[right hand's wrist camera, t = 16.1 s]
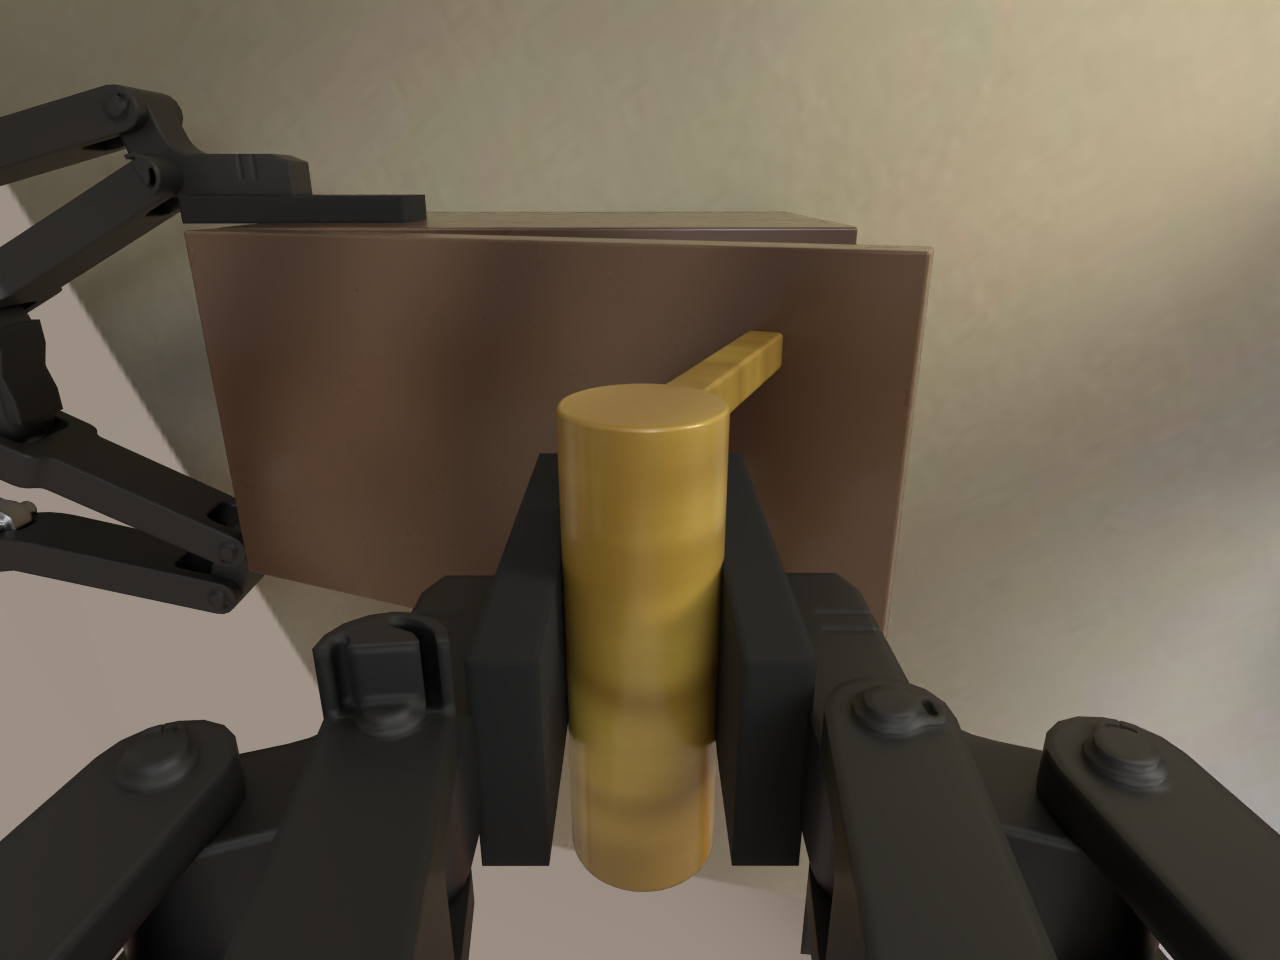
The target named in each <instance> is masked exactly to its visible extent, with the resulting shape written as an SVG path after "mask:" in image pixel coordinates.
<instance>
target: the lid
mask: <svg viewBox="0 0 1280 960" xmlns="http://www.w3.org/2000/svg"><path fill="white" fill-rule="evenodd" d="M184 235H185V240H186V245H187V250H188V256H189V261H190V266H191V271H192V276H193V282H194V287H195V292H196V297H197V302H198V308H199V313H200V318H201V323H202V328H203V333H204V339H205V344H206V349H207V354H208V359H209V365H210V370H211V375H212V380H213V385H214V391H215V396H216V401H217V406H218V411H219V417H220V422H221V427H222V432H223V437H224V442H225V448H226V453H227V458H228V463H229V468H230V474H231V479H232V484H233V489H234V494H235V500H236V505H237V510H238V515H239V520H240V526H241V531H242V536H243V541H244V546H245V551H246V557H247V562H248V567H249V570H250V571H252V572H256V573H261V574H265V575H269V576H274V577H278V578H283V579H287V580H292V581H296V582H300V583H305V584H309V585H314V586H318V587H323V588H327V589H331V590H336V591H340V592H345V593H349V594H354V595H358V596H363V597H367V598H371V599H376V600H380V601H385V602H389V603H394V604H398V605H402V606H407V607H411V608H414V606H415V604H416V603H417V601H418V599H419V597H420V595H421V593H422V592H423V591H425V590H426V589H427V588H429V587H430V586H432V585H433V584H434V583H436V582H437V581H438V580H440V579H441V578H442V577H444V576H445V575H495V573H496V570H497V568H498V565H499V562H500V560H501V557H502V554H503V551H504V549H505V546H506V543H507V541H508V538H509V535H510V532H511V530H512V527H513V524H514V521H515V519H516V516H517V513H518V511H519V508H520V505H521V502H522V500H523V497H524V494H525V491H526V489H527V486H528V483H529V481H530V478H531V475H532V472H533V470H534V467H535V464H536V462H537V459H538V456H539V453H558V475H559V500H560V526H561V551H562V576H563V601H564V627H565V652H566V677H567V702H568V728H569V753H570V778H571V804H572V829H573V843H574V848H575V851H576V854H577V856H578V858H579V859H580V861H581V863H582V864H583V865H584V866H585V868H586V869H587V870H588V871H589V872H590V873H591V874H592V875H594V876H595V877H596V878H598V879H599V880H601V881H603V882H604V883H606V884H608V885H611V886H613V887H616V888H620V889H623V890H629V891H637V892H649V891H658V890H663V889H667V888H670V887H673V886H675V885H678V884H680V883H682V882H684V881H685V880H687V879H689V878H690V877H691V876H693V875H694V874H695V873H696V872H697V871H698V870H699V869H700V868H701V867H702V865H703V864H704V863H705V861H706V860H707V858H708V856H709V854H710V851H711V848H712V844H713V831H714V806H715V780H716V755H717V749H716V742H715V735H716V710H717V684H718V659H719V634H720V608H721V583H722V563H723V560H724V552H725V526H726V501H727V476H728V453H742V456H743V459H744V462H745V464H746V467H747V470H748V472H749V475H750V478H751V481H752V483H753V486H754V489H755V491H756V494H757V497H758V500H759V502H760V505H761V508H762V511H763V513H764V516H765V519H766V521H767V524H768V527H769V530H770V532H771V535H772V538H773V540H774V543H775V546H776V549H777V551H778V554H779V557H780V559H781V562H782V565H783V568H784V570H785V573H837V574H838V575H840V576H841V577H842V578H844V579H845V580H847V581H848V582H849V583H851V584H852V585H853V586H855V587H856V588H857V589H859V590H860V592H861V594H862V596H863V597H864V599H865V601H866V603H867V605H868V607H869V609H870V614H873V616H874V618H875V620H876V622H877V624H878V626H879V631H882V633H883V635H884V637H885V639H886V636H887V628H888V620H889V611H890V603H891V595H892V587H893V579H894V571H895V563H896V554H897V546H898V538H899V530H900V522H901V514H902V506H903V497H904V489H905V481H906V473H907V465H908V457H909V449H910V441H911V432H912V424H913V416H914V408H915V400H916V392H917V384H918V375H919V367H920V359H921V351H922V343H923V335H924V327H925V318H926V310H927V302H928V294H929V286H930V278H931V270H932V262H933V253H934V250H933V248H932V247H923V246H885V245H846V244H808V243H769V242H731V241H692V240H654V239H615V238H577V237H538V236H500V235H461V234H423V233H384V232H346V231H307V230H268V229H230V228H219V229H203V230H187V231H185V232H184Z"/></svg>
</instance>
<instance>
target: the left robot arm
mask: <svg viewBox="0 0 1280 960" xmlns="http://www.w3.org/2000/svg"><path fill="white" fill-rule="evenodd" d="M182 123H183V115H182V110H181V108H180V107H179V105H178V103H177V102H176V101H175V100H174V99H173V98H171V97H170V96H168V95H165V94H162V93H157V92H152V91H147V90H141V89H136V88H131V87H125V86H120V85H105V86H102V87H98V88H95V89H92V90H88V91H85V92H82V93H79V94H75V95H72V96H69V97H65V98H62V99H59V100H56V101H52V102H49V103H46V104H42V105H39V106H36V107H33V108H29V109H26V110H23V111H19V112H16V113H13V114H10V115H6V116H3V117H0V186H2V185H6V184H9V183H12V182H16V181H19V180H22V179H26V178H29V177H32V176H36V175H39V174H43V173H46V172H49V171H53V170H56V169H59V168H63V167H66V166H70V165H73V164H76V163H80V162H83V161H86V160H90V159H93V158H96V157H100V156H103V155H107V154H110V153H113V152H117V151H120V150H123V149H127V151H128V153H129V154H126V155H124V157H125V158H126V159H132V160H133V161H131V162H130V163H128V164H127V165H125V166H123V167H122V168H120V169H119V170H117V171H116V172H114V173H113V174H111V175H110V176H108V177H107V178H105V179H104V180H102V181H101V182H99V183H98V184H96V185H95V186H93V187H91V188H90V189H88V190H87V191H85V192H84V193H82V194H81V195H79V196H78V197H76V198H75V199H73V200H72V201H70V202H69V203H67V204H66V205H64V206H62V207H61V208H59V209H58V210H56V211H55V212H53V213H52V214H50V215H49V216H47V217H46V218H44V219H43V220H41V221H40V222H38V223H37V224H35V225H33V226H32V227H30V228H29V229H27V230H26V231H24V232H23V233H21V234H20V235H18V236H17V237H15V238H14V239H12V240H11V241H9V242H8V243H6V244H4V245H3V246H1V247H0V480H2V481H5V482H7V483H9V484H11V485H14V486H17V487H21V488H43V489H46V490H49V491H51V492H53V493H56V494H58V495H60V496H63V497H65V498H67V499H69V500H72V501H74V502H76V503H79V504H81V505H83V506H85V507H88V508H90V509H92V510H95V511H97V512H99V513H102V514H104V515H106V516H108V517H111V518H113V519H115V520H118V521H120V522H122V523H125V524H127V525H129V526H131V527H134V528H130V527H126V526H121V525H117V524H112V523H108V522H103V521H99V520H94V519H90V518H85V517H80V516H76V515H70V514H64V513H54V512H39V513H37V508H36V506H35V505H34V504H33V503H32V502H29V501H24V502H22V503H19V502H16V501H11V500H5V499H3V498H0V572H2V571H13V570H14V571H19V572H24V573H29V574H33V575H38V576H43V577H47V578H52V579H57V580H61V581H66V582H71V583H75V584H80V585H85V586H90V587H95V588H99V589H104V590H108V591H113V592H118V593H123V594H128V595H132V596H137V597H141V598H146V599H151V600H155V601H160V602H165V603H169V604H174V605H179V606H184V607H189V608H193V609H198V610H203V611H207V612H212V613H217V614H225V613H228V612H230V611H231V610H232V609H233V608H234V607H235V606H236V605H237V604H238V603H239V602H240V601H241V600H242V599H243V598H244V597H245V596H246V595H247V593H248V592H249V591H250V590H251V589H252V588H253V587H254V586H255V585H256V584H257V583H258V582H259V581H260V580H261V578H262V577H263V576H264V574H261V573H256V572H252V571H250V570H249V567H248V562H247V557H246V551H245V546H244V541H243V536H242V531H241V526H240V520H239V515H238V510H237V505H236V500H235V497H232V496H230V495H228V494H226V493H223V492H221V491H219V490H217V489H215V488H212V487H210V486H208V485H206V484H204V483H201V482H199V481H197V480H195V479H192V478H190V477H188V476H186V475H184V474H181V473H179V472H177V471H175V470H172V469H170V468H168V467H166V466H164V465H161V464H159V463H157V462H155V461H153V460H150V459H148V458H146V457H144V456H142V455H139V454H137V453H135V452H133V451H130V450H128V449H126V448H124V447H122V446H119V445H117V444H115V443H113V442H111V441H108V440H106V439H104V438H102V437H100V436H99V435H98V434H97V429H96V428H95V427H94V426H92V425H91V424H89V423H86V422H84V421H82V420H80V419H77V418H75V417H73V416H71V415H69V414H67V413H64V412H62V411H60V410H62V409H63V407H62V403H61V399H60V395H59V392H58V388H57V386H56V384H55V382H54V380H53V378H52V377H51V375H50V373H49V371H48V369H47V367H46V364H45V349H46V342H45V338H44V334H43V330H42V327H41V323H40V320H31V319H30V317H29V315H28V314H27V313H28V312H29V311H31V310H33V309H34V308H36V307H37V306H39V305H41V304H42V303H44V302H45V301H47V300H49V299H50V298H52V297H53V296H55V295H56V294H58V293H59V292H61V291H62V288H61V287H62V286H64V285H65V284H67V283H68V282H70V281H72V280H73V279H75V278H76V277H78V276H79V275H81V274H83V273H84V272H86V271H87V270H89V269H90V268H92V267H94V266H95V265H97V264H98V263H100V262H101V261H103V260H105V259H106V258H108V257H109V256H111V255H112V254H114V253H116V252H117V251H119V250H120V249H122V248H123V247H125V246H127V245H128V244H130V243H131V242H133V241H135V240H136V239H138V238H139V237H141V236H142V235H144V234H146V233H147V232H149V231H150V230H152V229H153V228H155V227H157V226H158V225H160V224H161V223H163V222H164V221H166V220H168V219H169V218H171V217H172V216H174V215H175V214H177V213H179V212H181V217H182V222H183V223H406V222H412V221H417V220H423V219H427V215H426V204H425V195H312V188H311V181H310V174H309V166H308V162H306V161H303V160H301V159H298V158H296V157H293V156H291V155H278V154H206V153H203V152H202V151H200V150H199V149H197V148H196V147H195V146H194V145H193V144H192V143H191V141H190V140H189V138H188V137H187V135H186V133H185V131H184V129H183V127H182ZM135 528H136V529H135Z"/></svg>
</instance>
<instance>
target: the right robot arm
mask: <svg viewBox="0 0 1280 960" xmlns="http://www.w3.org/2000/svg"><path fill="white" fill-rule="evenodd" d="M312 651H313V657H314V663H315V669H316V675H317V681H318V687H319V693H320V699H321V705H322V711H323V717H324V720H323V722H322V725H321V727H320V729H319V732H318V734H317V735H315V736H313V737H311V738H307V739H304V740H300V741H297V742H293V743H290V744H285V745H280V746H275V747H271V748H266V749H261V750H256V751H252V752H247V753H242V754H239V751H238V747H237V742H236V737H235V735H234V734H233V733H232V732H231V731H230V730H229V729H228V728H226V727H225V726H224V725H222V724H218V723H214V722H210V721H206V720H189V721H176V722H171V723H166V724H164V725H157V726H154V727H151V728H148V729H145V730H144V731H141V732H139V733H137V734H134V735H132V736H130V737H128V738H125V739H123V740H121V741H119V742H118V743H116V744H115V745H113V746H112V747H110V748H109V749H108V750H106V751H105V752H103V753H102V754H100V755H99V756H98V757H96V758H95V759H94V760H93V761H91V762H90V763H89V764H88V765H87V766H86V767H85V768H83V769H82V770H81V771H80V772H79V773H78V774H77V775H75V776H74V777H73V778H72V779H71V780H70V781H69V782H68V783H66V784H65V785H64V786H63V787H62V788H61V789H59V790H58V791H57V792H56V793H55V794H54V795H53V796H51V797H50V798H49V799H48V800H47V801H46V802H45V803H43V804H42V805H41V806H40V807H39V808H38V809H37V810H35V811H34V812H33V813H32V814H31V815H30V816H29V817H28V818H26V819H25V820H24V821H23V822H22V823H21V824H19V825H18V826H17V827H16V828H15V829H14V830H13V831H11V832H10V833H9V834H8V835H7V836H6V837H5V838H3V839H2V840H1V841H0V960H112V959H113V958H114V957H115V956H116V954H117V953H118V952H119V951H120V949H121V948H122V947H123V949H124V950H123V952H122V953H121V954H120V955H119V957H118V958H117V959H116V960H468V959H469V949H470V940H471V930H472V920H473V911H474V893H473V883H472V873H471V866H472V861H473V857H474V853H475V849H476V845H477V841H478V837H479V835H480V846H481V857H482V866H549V862H550V855H551V847H552V840H553V832H554V825H555V817H556V809H557V802H558V794H559V787H560V779H561V772H562V764H563V757H564V749H565V741H566V734H567V726H568V702H567V677H566V652H565V627H564V601H563V576H562V551H561V526H560V500H559V475H558V453H539V456H538V459H537V462H536V464H535V467H534V470H533V472H532V475H531V478H530V481H529V483H528V486H527V489H526V491H525V494H524V497H523V500H522V502H521V505H520V508H519V511H518V513H517V516H516V519H515V521H514V524H513V527H512V530H511V532H510V535H509V538H508V541H507V543H506V546H505V549H504V551H503V554H502V557H501V560H500V562H499V565H498V568H497V570H496V573H495V575H445V576H444V577H442V578H441V579H440V580H438V581H437V582H436V583H434V584H433V585H432V586H430V587H429V588H427V589H426V590H425V591H423V592H422V593H421V595H420V597H419V599H418V601H417V603H416V604H415V606H414V608H413V610H412V612H411V613H409V612H388V613H381V614H374V615H368V616H365V617H362V618H359V619H356V620H353V621H350V622H347V623H344V624H342V625H341V626H339V627H337V628H336V629H334V630H332V631H331V632H329V633H327V634H325V635H324V636H323V637H322V638H321V640H320V641H319V642H318V643H317V644H316V645H315V647H314V648H313V649H312ZM715 742H716V749H717V757H718V764H719V772H720V779H721V787H722V794H723V802H724V810H725V817H726V825H727V832H728V840H729V847H730V855H731V862H732V866H799V857H800V846H801V835H802V833H803V837H804V841H805V845H806V849H807V853H808V857H809V861H810V862H809V872H808V883H807V893H806V904H805V914H804V924H803V934H802V945H801V954H809V955H811V957H812V960H1169V959H1168V958H1167V957H1166V956H1165V955H1164V953H1163V952H1162V951H1161V950H1160V948H1159V947H1158V946H1159V943H1160V944H1161V945H1162V946H1163V947H1164V948H1165V950H1166V951H1167V952H1168V953H1169V954H1170V956H1171V957H1172V958H1173V959H1174V960H1280V835H1279V834H1278V833H1277V832H1276V831H1275V830H1274V829H1272V828H1271V827H1270V826H1269V825H1268V824H1267V823H1265V822H1264V821H1263V820H1262V819H1261V818H1260V817H1259V816H1257V815H1256V814H1255V813H1254V812H1253V811H1252V810H1251V809H1249V808H1248V807H1247V806H1246V805H1245V804H1244V803H1242V802H1241V801H1240V800H1239V799H1238V798H1237V797H1236V796H1234V795H1233V794H1232V793H1231V792H1230V791H1229V790H1227V789H1226V788H1225V787H1224V786H1223V785H1222V784H1221V783H1219V782H1218V781H1217V780H1216V779H1215V778H1214V777H1212V776H1211V775H1210V774H1209V773H1208V772H1207V771H1206V770H1204V769H1203V768H1202V767H1201V766H1200V765H1199V764H1198V763H1196V762H1195V761H1194V760H1193V759H1192V758H1191V757H1189V756H1188V755H1187V754H1186V753H1184V752H1183V751H1182V750H1180V749H1179V748H1177V747H1176V746H1174V745H1173V744H1171V743H1170V742H1168V741H1167V740H1165V739H1164V738H1163V737H1161V736H1158V735H1156V734H1154V733H1151V732H1149V731H1147V730H1145V729H1142V728H1140V727H1138V726H1136V725H1134V724H1130V723H1127V722H1123V721H1117V720H1115V719H1109V718H1104V717H1080V716H1077V717H1074V718H1070V719H1066V720H1062V721H1058V722H1057V723H1056V724H1055V725H1054V726H1053V727H1052V728H1051V729H1050V730H1049V731H1048V732H1047V734H1046V738H1045V743H1044V747H1043V751H1041V750H1037V749H1032V748H1027V747H1022V746H1017V745H1013V744H1008V743H1003V742H998V741H993V740H990V739H986V738H983V737H979V736H975V735H972V734H970V733H967V732H965V731H963V730H961V728H960V726H959V723H958V721H957V719H956V717H955V716H954V714H953V713H952V712H951V710H950V709H949V708H948V706H947V705H946V703H945V702H943V701H942V700H940V699H939V698H937V697H936V696H935V695H933V694H932V693H930V692H929V691H927V690H926V689H923V688H921V687H918V686H915V685H913V684H910V683H909V682H908V680H907V678H906V676H905V674H904V672H903V671H902V669H901V667H900V665H899V663H898V661H897V659H896V657H895V656H894V654H893V652H892V650H891V648H890V646H889V644H888V642H887V641H886V639H885V637H884V635H883V633H882V631H879V626H878V624H877V622H876V620H875V618H874V616H873V614H870V609H869V607H868V605H867V603H866V601H865V599H864V597H863V596H862V594H861V592H860V590H859V589H857V588H856V587H855V586H853V585H852V584H851V583H849V582H848V581H847V580H845V579H844V578H842V577H841V576H840V575H838V574H837V573H785V570H784V568H783V565H782V562H781V559H780V557H779V554H778V551H777V549H776V546H775V543H774V540H773V538H772V535H771V532H770V530H769V527H768V524H767V521H766V519H765V516H764V513H763V511H762V508H761V505H760V502H759V500H758V497H757V494H756V491H755V489H754V486H753V483H752V481H751V478H750V475H749V472H748V470H747V467H746V464H745V462H744V459H743V456H742V453H728V476H727V501H726V526H725V552H724V560H723V563H722V583H721V608H720V634H719V659H718V684H717V710H716V735H715Z"/></svg>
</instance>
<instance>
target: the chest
mask: <svg viewBox="0 0 1280 960" xmlns="http://www.w3.org/2000/svg"><path fill="white" fill-rule="evenodd" d="M426 215H427V219H423V220H417V221H412V222H406V223H259V224H250V225H241V226H232V227H223V228H230V229H268V230H307V231H346V232H384V233H423V234H461V235H500V236H538V237H577V238H615V239H654V240H692V241H731V242H769V243H808V244H846V245H856V239H857V228H856V227H852V226H848V225H843V224H838V223H834V222H829V221H825V220H820V219H815V218H811V217H806V216H802V215H797V214H792V213H787V212H426Z"/></svg>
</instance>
